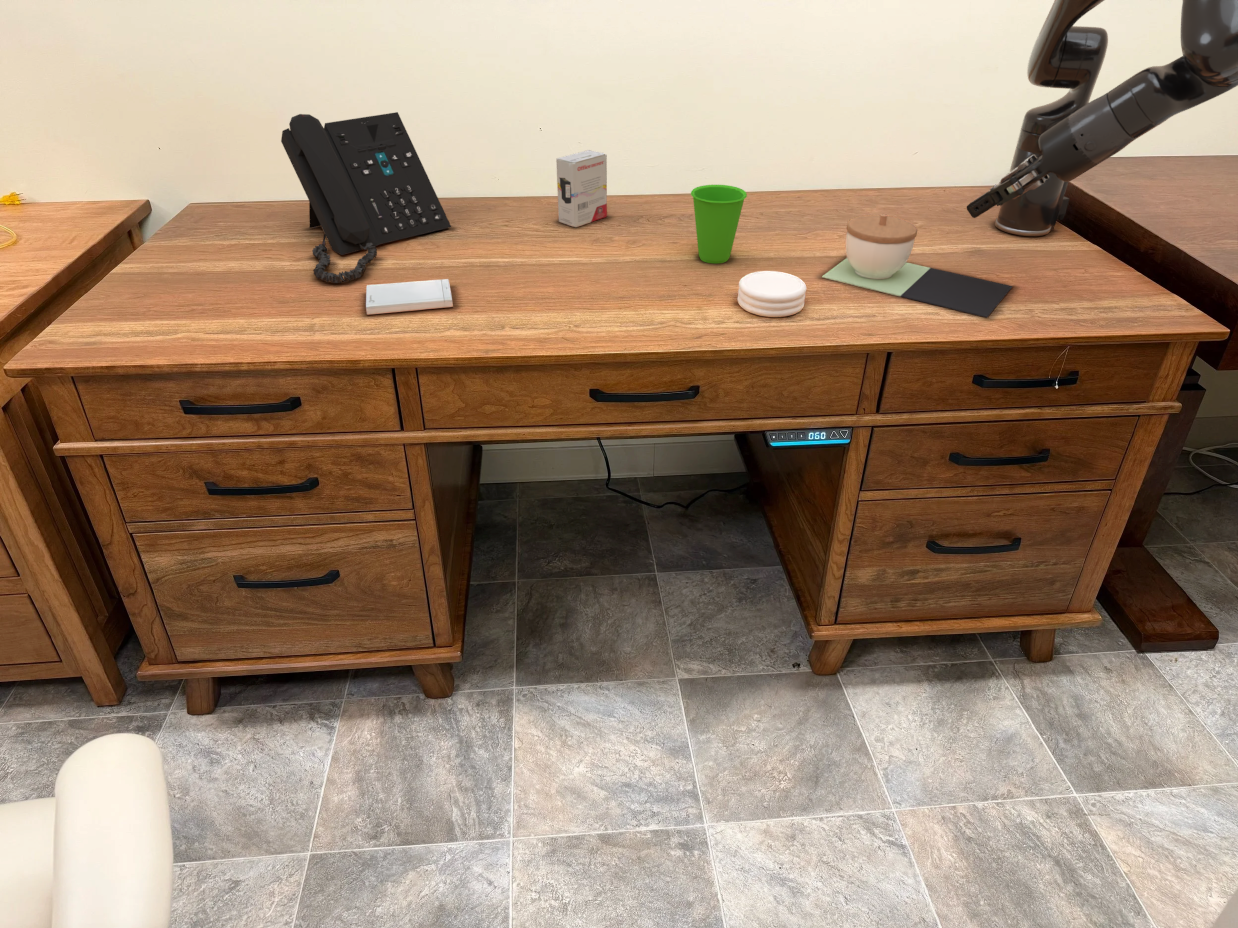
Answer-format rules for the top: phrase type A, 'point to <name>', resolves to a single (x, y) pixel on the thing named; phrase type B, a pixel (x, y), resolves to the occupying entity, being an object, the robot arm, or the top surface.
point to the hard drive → (408, 296)
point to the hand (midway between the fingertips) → (970, 211)
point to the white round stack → (771, 293)
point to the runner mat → (930, 287)
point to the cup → (716, 220)
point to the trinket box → (879, 244)
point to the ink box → (582, 187)
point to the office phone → (361, 185)
